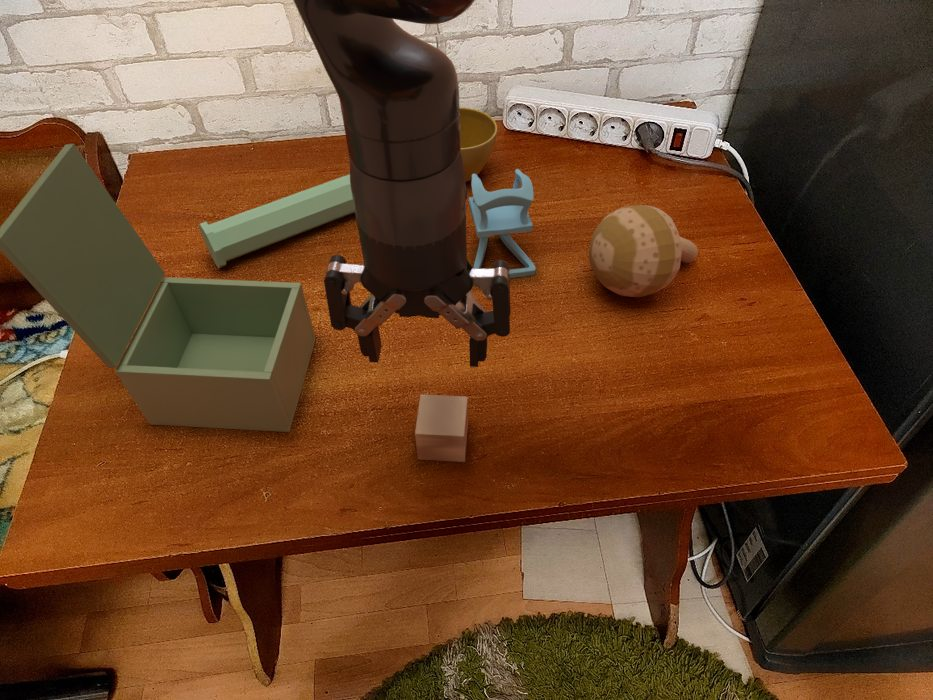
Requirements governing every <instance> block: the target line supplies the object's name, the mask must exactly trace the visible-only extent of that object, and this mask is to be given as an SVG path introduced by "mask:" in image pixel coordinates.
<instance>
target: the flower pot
mask: <svg viewBox="0 0 933 700" xmlns="http://www.w3.org/2000/svg"><path fill="white" fill-rule="evenodd" d="M459 110H460V147H461V155H462V161H463V166H464V172H465V183H467V182H470V181H472V174H476V175H477V176H478V175H479V174H480V173H481V171H482V170H483V168H484V167H485V165H486V163H487V162H488V160H489V158H490V156H491V154H492V151H493V148H494V145H495V143H496V139H497V134H498V125H497V122H496V121H495V119H494V118H493V117H492V116H491V115H489V114H487V113H486V112H485V111H481V110H479V109H476V108H470V107H459Z"/></svg>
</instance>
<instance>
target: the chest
mask: <svg viewBox="0 0 933 700" xmlns="http://www.w3.org/2000/svg"><path fill="white" fill-rule="evenodd" d="M316 340H317V337H316V333H315V330H314V326H313V323H312V319H311V315H310V311H309V308H308V305H307V301H306V296H305V292H304V289H303V286H302V283H301V282H288V281H269V280H268V281H265V280H242V279H241V280H240V279H221V278H219V279H218V278H217V279H216V278H199V277H198V278H195V277H194V278H193V277H176V276H175V277H173V276H172V277H171V276H163V278H162V280H161V282H160V284H159V286H158V287H157V289H156V291H155V293H154V295H153V297H152V299H151V301H150V303H149V305H148V307H147V309H146V311H145V313H144V315H143V317H142V318H141V320H140V322H139V324H138V326H137V328H136V330H135V332H134V334H133V336H132V338H131V340H130V342H129V344H128V346H127V348H126V350H125V351H124V353H123V355H122V357H121V359H120V361H119V363H118V365H117V367H116V368H115V370H114V372H115V374H116V376H117V377H118V379H119V380H120V382H121V383H122V384H123V386H124V388H125V390H126V391H127V393H128V394H129V395H130V397H131V399H132V400H133V401H134V403H135V405H136V406H137V407H138V409H139V411H140V412H141V414H142V416H143V417H144V418H145V420H146V421H147V423H148V424H149V425H151V426H152V425H153V426H171V427H187V428H188V427H190V428H204V429H205V428H206V429H207V428H209V429H227V430H244V431H261V432H280V433H290V432H291V429H292V425H293V421H294V418H295V414H296V411H297V408H298V403H299V400H300V397H301V393H302V390H303V386H304V384H305V383H304V382H305V379H306V375H307V372H308V368H309V365H310V362H311V358H312V355H313V352H314V351H313V350H314V348H315V344H316V342H317V341H316Z"/></svg>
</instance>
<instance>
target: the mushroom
mask: <svg viewBox="0 0 933 700" xmlns="http://www.w3.org/2000/svg"><path fill="white" fill-rule="evenodd" d="M698 254H699V249H698V247H697V245H696V244H695V243H694V242H692V241H691V240H689V239H686V238H684V237H682V236H680V233H679V231H678V228H677V226H676V224H675V222H674V220H673V218H672V217H671V216H670V215H669V214H667V213H666V212H665V211H663V209H660V208H658V207H655V206H652V205H645V204H635V205H634V204H632V205H625V206H622V207H620V208H617V209H616V210H614V211H611V212H610V213H609V214H606V216H605V217H604V218H602V220H601V221H600V222H599V224H598V225H597V226H596V228H595V229H594V231H593V234H592V236H591V238H590V241H589V250H588V257H589V258H588V259H589V263H590V266H591V270H592V272H593V273H594V275H595V277H596V279H597V280H598V282H600V283H601V285H602V286H604V287H605V288H606V289H608V290H609V291H611V292H613V293H615V294H616V295H619V296H621V297H631V298H642V297H646V296H650V295H652V294H654V293H658V292H659V291H661V290H663V289H665V288H666V287H668V286H669V285H670V284H671V282H673V280H674V279H675V277H676V276H677V274H678V272H679V271H680V269H681V263H686V264H689V263H692V262H693V261H695V260H696V258H697V257H698Z"/></svg>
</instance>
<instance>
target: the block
mask: <svg viewBox="0 0 933 700" xmlns="http://www.w3.org/2000/svg"><path fill="white" fill-rule="evenodd" d="M468 429H469V397H468V396H465V395H464V396H463V395H445V394H441V395H439V394H424V393H420V395H419V402H418V409H417V416H416V422H415V429H414V430H415V431H414V437H415V445H416V454H417V460H420V461H437V462H438V461H439V462H440V461H441V462H453V463H454V462H455V463H465V462H466V453H467V444H468V443H467V441H468V432H469V431H468Z"/></svg>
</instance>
